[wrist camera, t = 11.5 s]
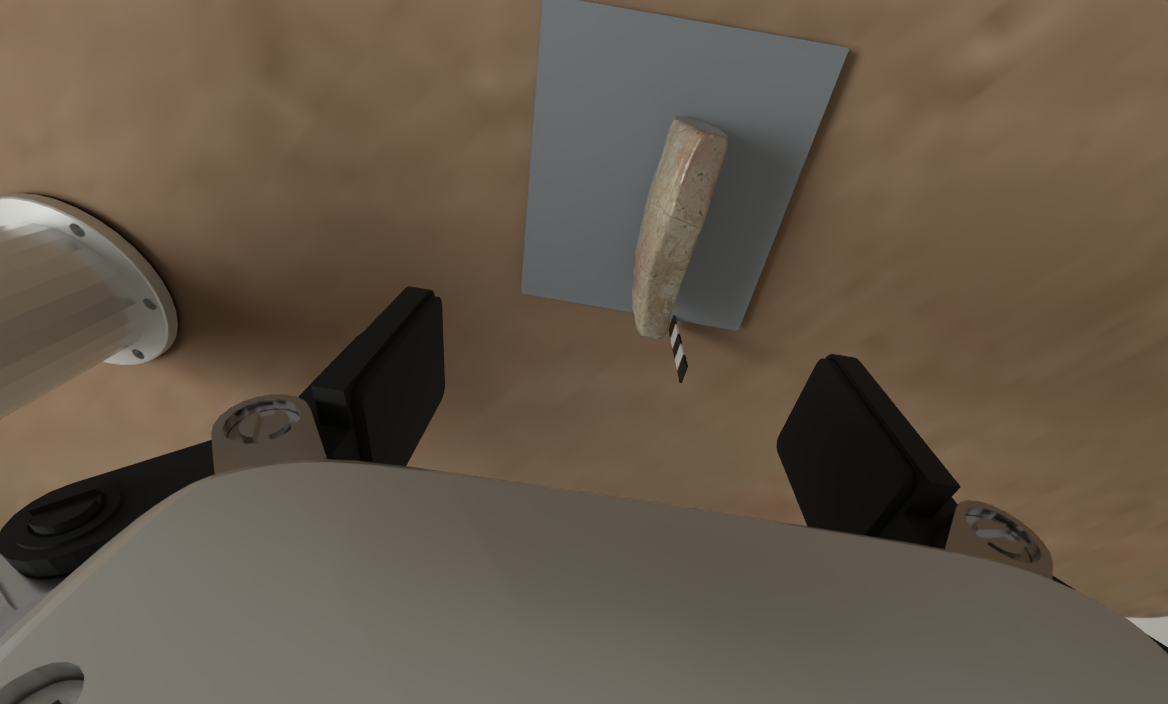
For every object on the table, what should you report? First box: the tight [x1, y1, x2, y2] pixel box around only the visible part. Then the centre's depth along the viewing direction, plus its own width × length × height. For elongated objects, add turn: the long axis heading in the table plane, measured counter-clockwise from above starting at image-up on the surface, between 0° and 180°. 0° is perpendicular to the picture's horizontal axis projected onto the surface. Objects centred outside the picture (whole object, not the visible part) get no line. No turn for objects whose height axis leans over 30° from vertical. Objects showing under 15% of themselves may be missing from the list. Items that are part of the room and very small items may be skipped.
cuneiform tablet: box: [632, 116, 728, 383], centre depth 23 cm, size 6×4×12 cm
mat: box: [521, 0, 850, 331], centre depth 24 cm, size 14×15×1 cm
